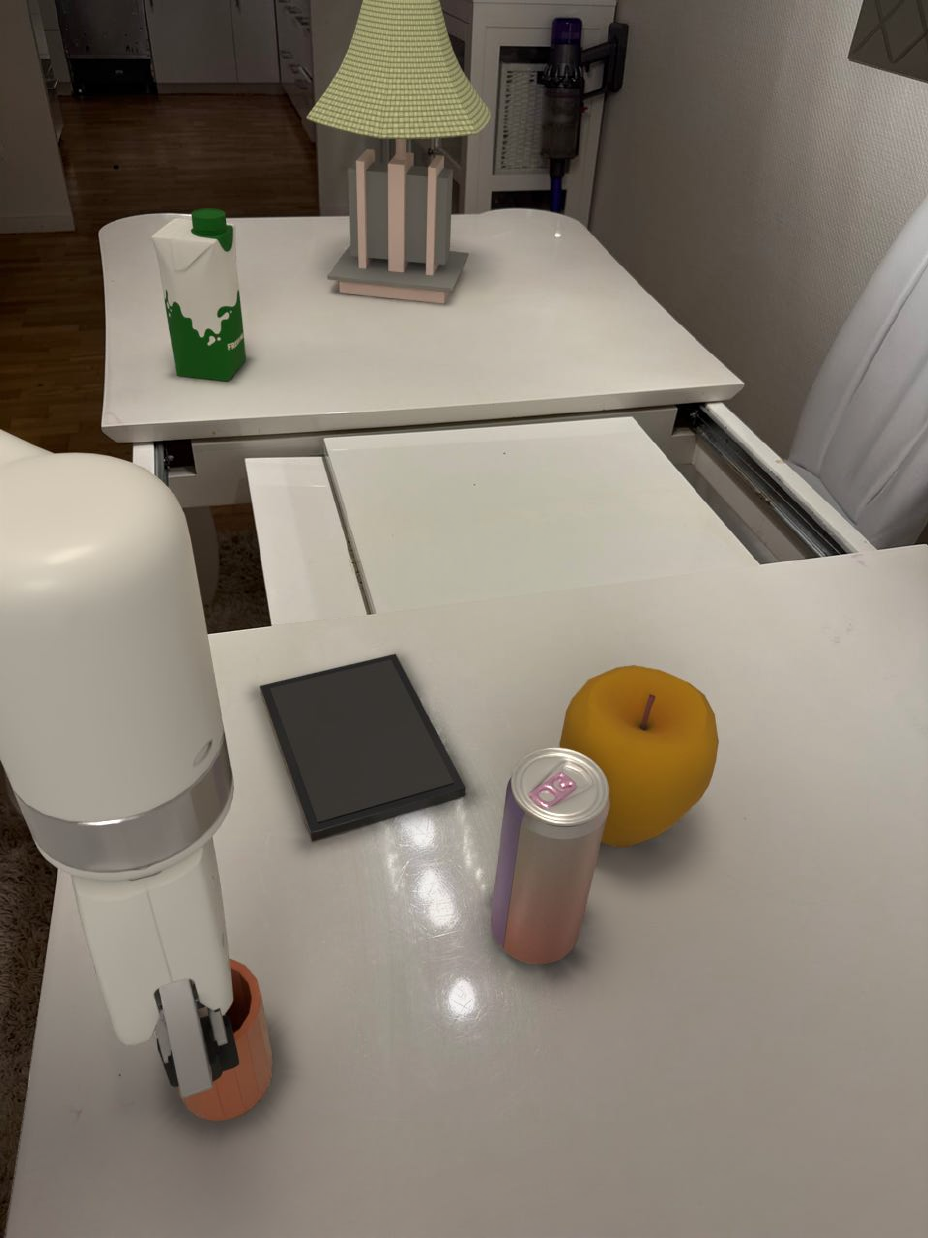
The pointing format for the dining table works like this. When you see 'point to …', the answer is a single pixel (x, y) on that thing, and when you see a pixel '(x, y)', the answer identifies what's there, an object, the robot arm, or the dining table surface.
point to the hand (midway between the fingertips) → (195, 1009)
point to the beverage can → (547, 853)
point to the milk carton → (202, 294)
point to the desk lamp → (400, 150)
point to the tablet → (358, 746)
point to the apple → (644, 747)
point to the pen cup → (240, 1055)
